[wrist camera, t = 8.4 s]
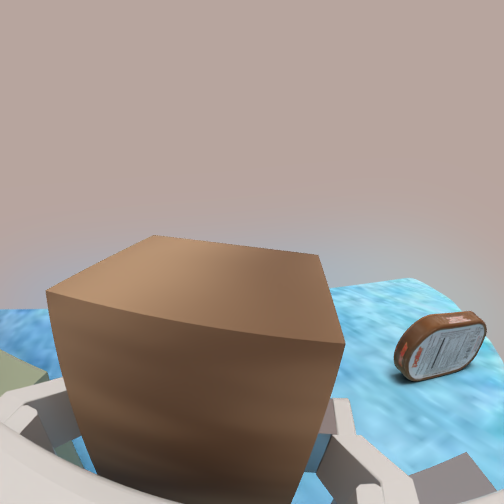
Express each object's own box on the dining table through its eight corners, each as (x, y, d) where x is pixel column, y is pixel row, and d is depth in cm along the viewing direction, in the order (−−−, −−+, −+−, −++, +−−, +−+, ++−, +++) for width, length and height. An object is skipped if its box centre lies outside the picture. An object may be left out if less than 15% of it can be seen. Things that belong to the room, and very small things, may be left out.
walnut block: (127, 531, 7) (45, 290, 5) (165, 449, 12) (153, 235, 9) (262, 562, 7) (346, 343, 4) (273, 469, 11) (317, 255, 9)
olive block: (8, 481, 12) (-50, 383, 10) (38, 446, 17) (-2, 348, 15) (56, 512, 12) (-4, 418, 9) (84, 469, 17) (47, 372, 14)
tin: (463, 359, 36) (481, 306, 34) (475, 369, 33) (496, 315, 31) (384, 375, 33) (403, 313, 31) (396, 390, 30) (419, 326, 28)
